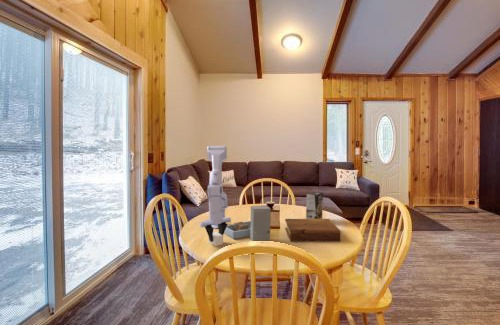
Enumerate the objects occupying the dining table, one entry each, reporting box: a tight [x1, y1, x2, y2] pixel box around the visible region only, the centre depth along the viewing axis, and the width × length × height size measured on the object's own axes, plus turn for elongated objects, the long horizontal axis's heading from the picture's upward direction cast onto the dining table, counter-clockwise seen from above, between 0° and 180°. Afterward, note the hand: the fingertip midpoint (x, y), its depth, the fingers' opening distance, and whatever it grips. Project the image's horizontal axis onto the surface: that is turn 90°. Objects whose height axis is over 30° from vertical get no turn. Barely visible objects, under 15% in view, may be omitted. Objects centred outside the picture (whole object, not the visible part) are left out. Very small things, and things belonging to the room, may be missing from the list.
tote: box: [223, 220, 251, 240], centre depth 140 cm, size 11×18×3 cm, turn 123°
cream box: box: [208, 231, 224, 247], centre depth 126 cm, size 6×4×4 cm, turn 37°
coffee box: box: [305, 191, 324, 219], centre depth 158 cm, size 9×6×16 cm
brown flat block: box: [284, 218, 341, 242], centre depth 137 cm, size 23×19×6 cm
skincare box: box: [249, 205, 272, 242], centre depth 129 cm, size 8×7×16 cm
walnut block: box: [233, 221, 248, 232], centre depth 138 cm, size 6×4×4 cm
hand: (215, 239), depth 126 cm, fingers closed on cream box, 4 cm apart
